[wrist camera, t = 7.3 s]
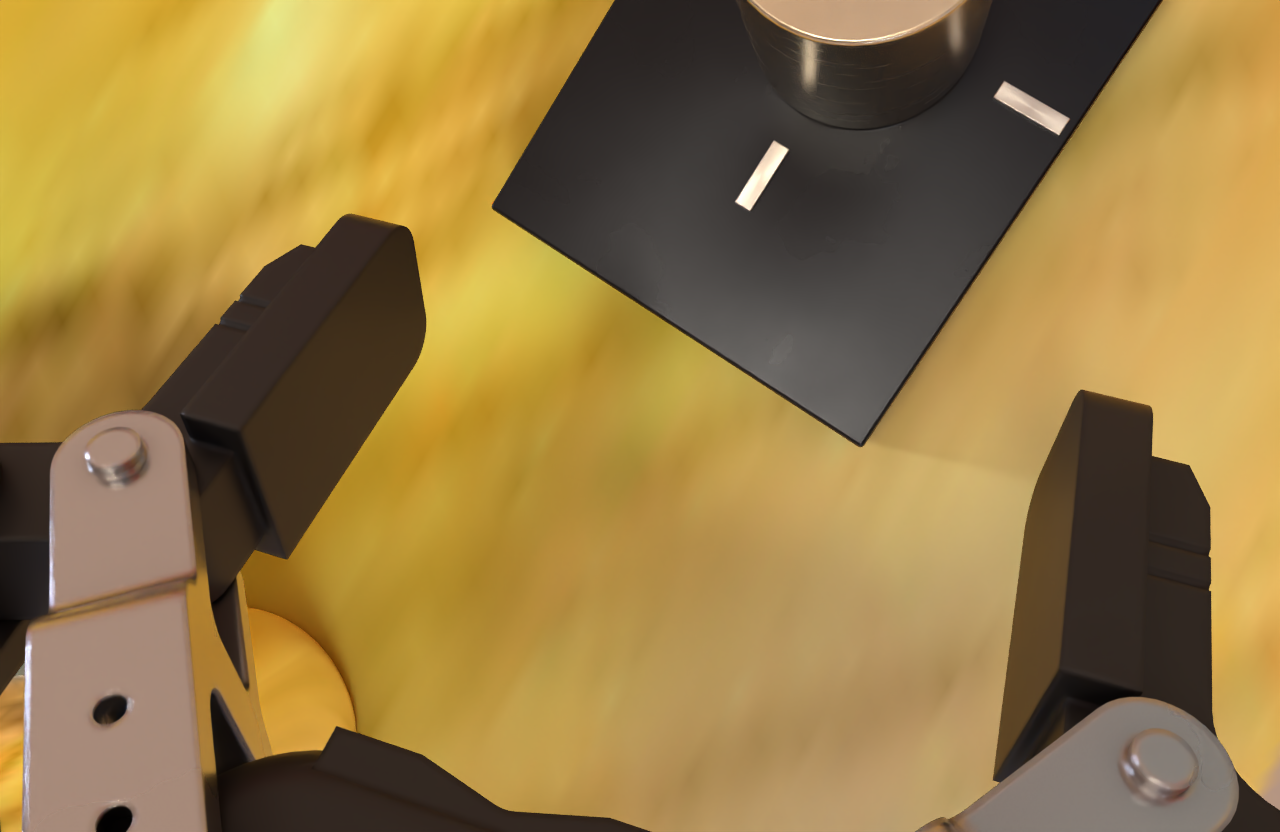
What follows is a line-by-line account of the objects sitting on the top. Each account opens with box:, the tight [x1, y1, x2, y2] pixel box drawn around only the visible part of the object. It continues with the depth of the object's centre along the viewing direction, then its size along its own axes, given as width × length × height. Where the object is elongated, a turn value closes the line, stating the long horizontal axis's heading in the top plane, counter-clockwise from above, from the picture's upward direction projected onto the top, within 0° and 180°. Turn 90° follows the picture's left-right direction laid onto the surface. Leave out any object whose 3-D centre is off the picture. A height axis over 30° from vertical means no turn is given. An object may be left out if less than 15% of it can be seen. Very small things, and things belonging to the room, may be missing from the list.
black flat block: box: [492, 0, 1163, 447], centre depth 23 cm, size 11×9×3 cm
